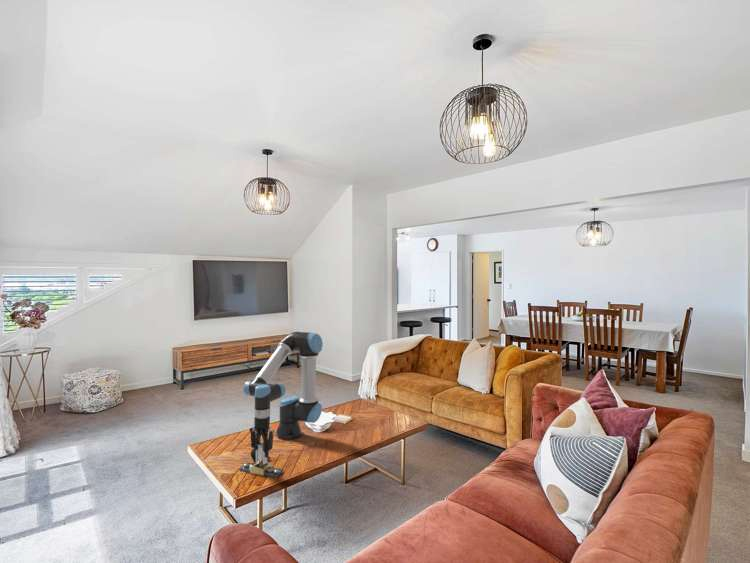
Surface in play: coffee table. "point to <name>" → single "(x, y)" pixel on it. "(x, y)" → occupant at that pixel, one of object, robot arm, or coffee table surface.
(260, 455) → the pin
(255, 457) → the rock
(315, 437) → the coffee table surface
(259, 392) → the robot arm
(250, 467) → the chain ends
